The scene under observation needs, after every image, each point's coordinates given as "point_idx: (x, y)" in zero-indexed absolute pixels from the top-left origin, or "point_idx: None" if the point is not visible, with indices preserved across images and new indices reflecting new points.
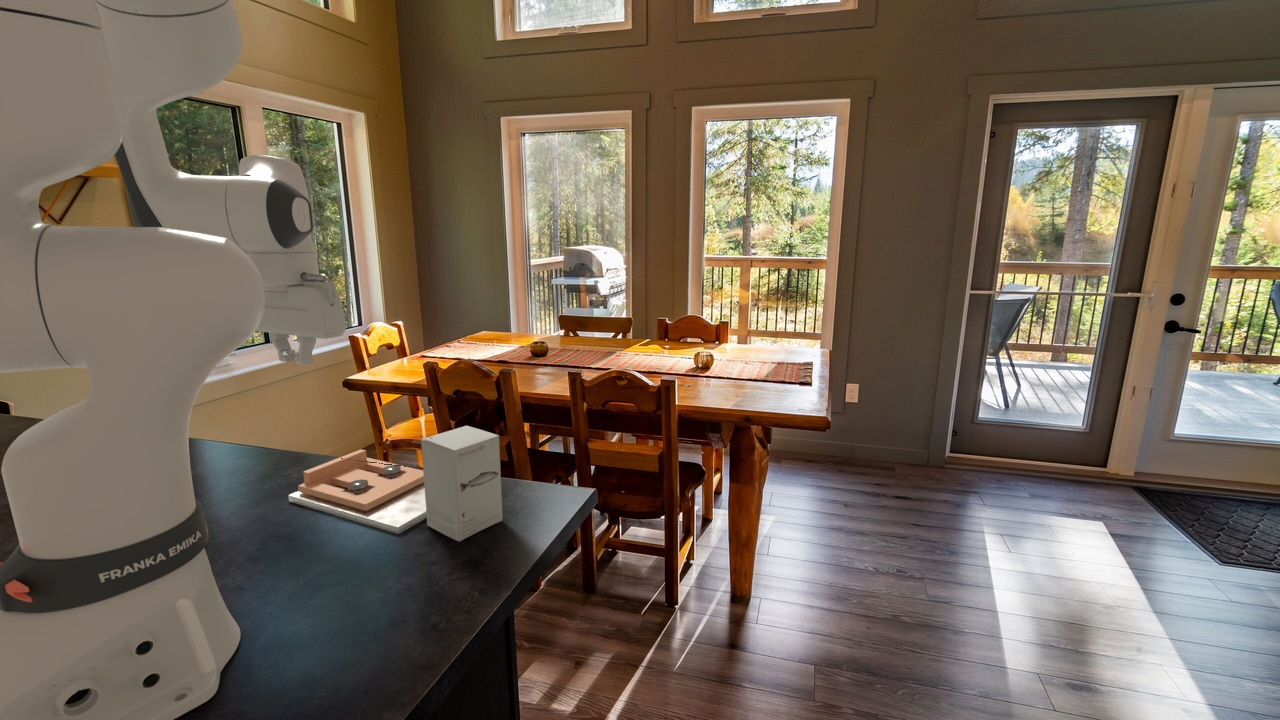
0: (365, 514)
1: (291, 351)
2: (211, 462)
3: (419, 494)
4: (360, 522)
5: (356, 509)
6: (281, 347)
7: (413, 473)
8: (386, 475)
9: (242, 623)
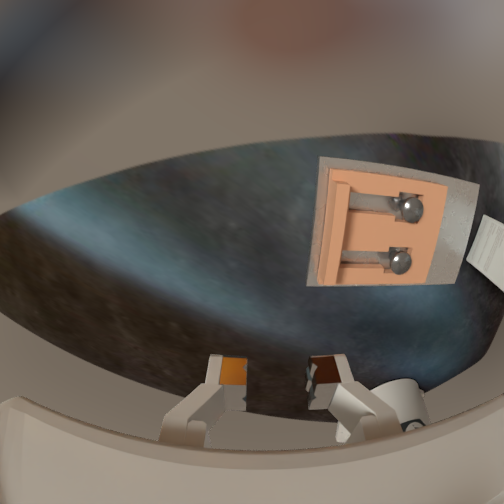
0: None
1: (245, 389)
2: (87, 244)
3: (447, 223)
4: None
5: None
6: (218, 414)
7: (432, 197)
8: None
9: (406, 375)
